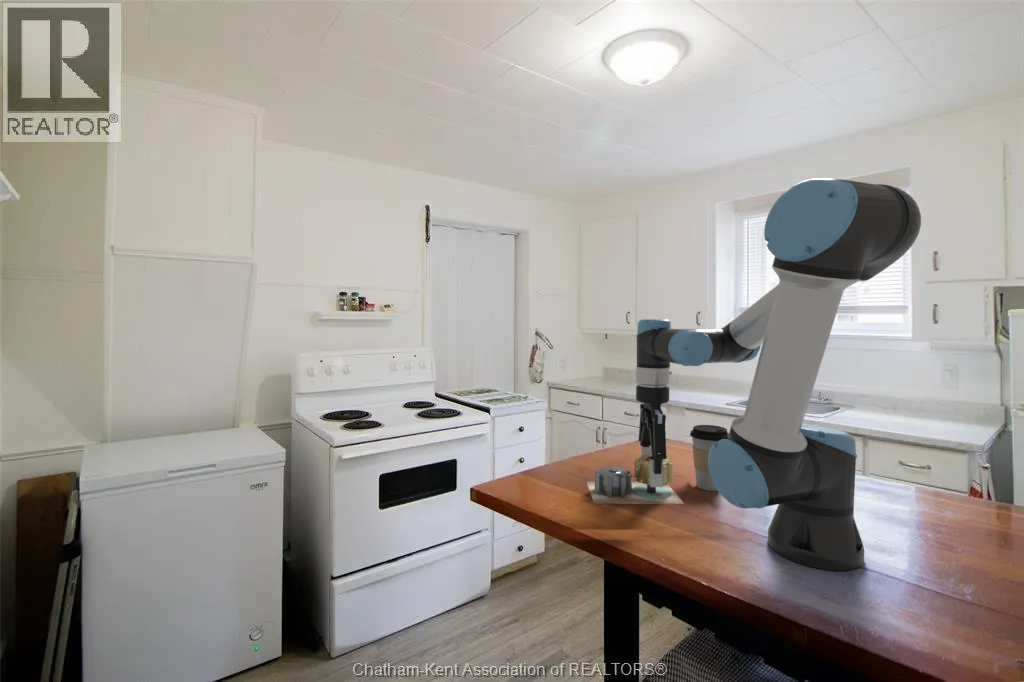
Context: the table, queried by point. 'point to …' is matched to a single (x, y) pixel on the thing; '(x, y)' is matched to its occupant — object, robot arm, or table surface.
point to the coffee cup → (705, 452)
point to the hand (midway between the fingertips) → (651, 479)
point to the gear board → (638, 494)
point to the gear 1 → (613, 482)
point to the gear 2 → (644, 470)
